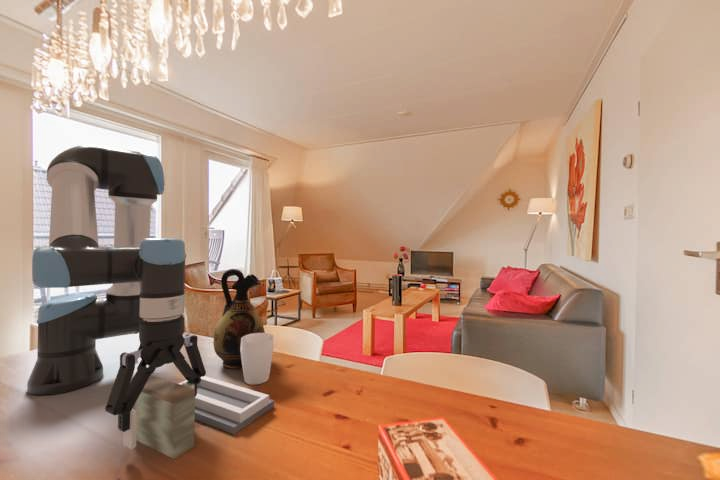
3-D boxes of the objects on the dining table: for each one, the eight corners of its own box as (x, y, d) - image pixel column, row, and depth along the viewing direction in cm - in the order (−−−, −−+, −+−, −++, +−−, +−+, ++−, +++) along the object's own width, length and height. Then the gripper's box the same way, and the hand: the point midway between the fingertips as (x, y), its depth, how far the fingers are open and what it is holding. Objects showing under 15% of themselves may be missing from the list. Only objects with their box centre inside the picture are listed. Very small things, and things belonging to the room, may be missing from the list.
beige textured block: (129, 437, 63) (129, 382, 63) (149, 426, 67) (150, 374, 67) (174, 459, 57) (175, 398, 57) (194, 446, 61) (194, 389, 61)
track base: (160, 405, 75) (160, 391, 75) (204, 384, 86) (204, 372, 86) (233, 434, 65) (234, 417, 65) (273, 406, 75) (274, 392, 75)
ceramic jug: (270, 354, 109) (271, 267, 109) (257, 373, 94) (258, 272, 93) (220, 354, 108) (221, 266, 108) (198, 373, 93) (200, 271, 93)
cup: (263, 388, 84) (264, 343, 84) (233, 385, 86) (233, 341, 86) (278, 374, 93) (279, 333, 93) (250, 371, 95) (251, 331, 95)
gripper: (104, 335, 50) (102, 474, 50) (224, 307, 71) (223, 405, 71) (79, 329, 53) (78, 459, 53) (201, 304, 74) (200, 397, 74)
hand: (161, 428), depth 62 cm, fingers open, 11 cm apart
